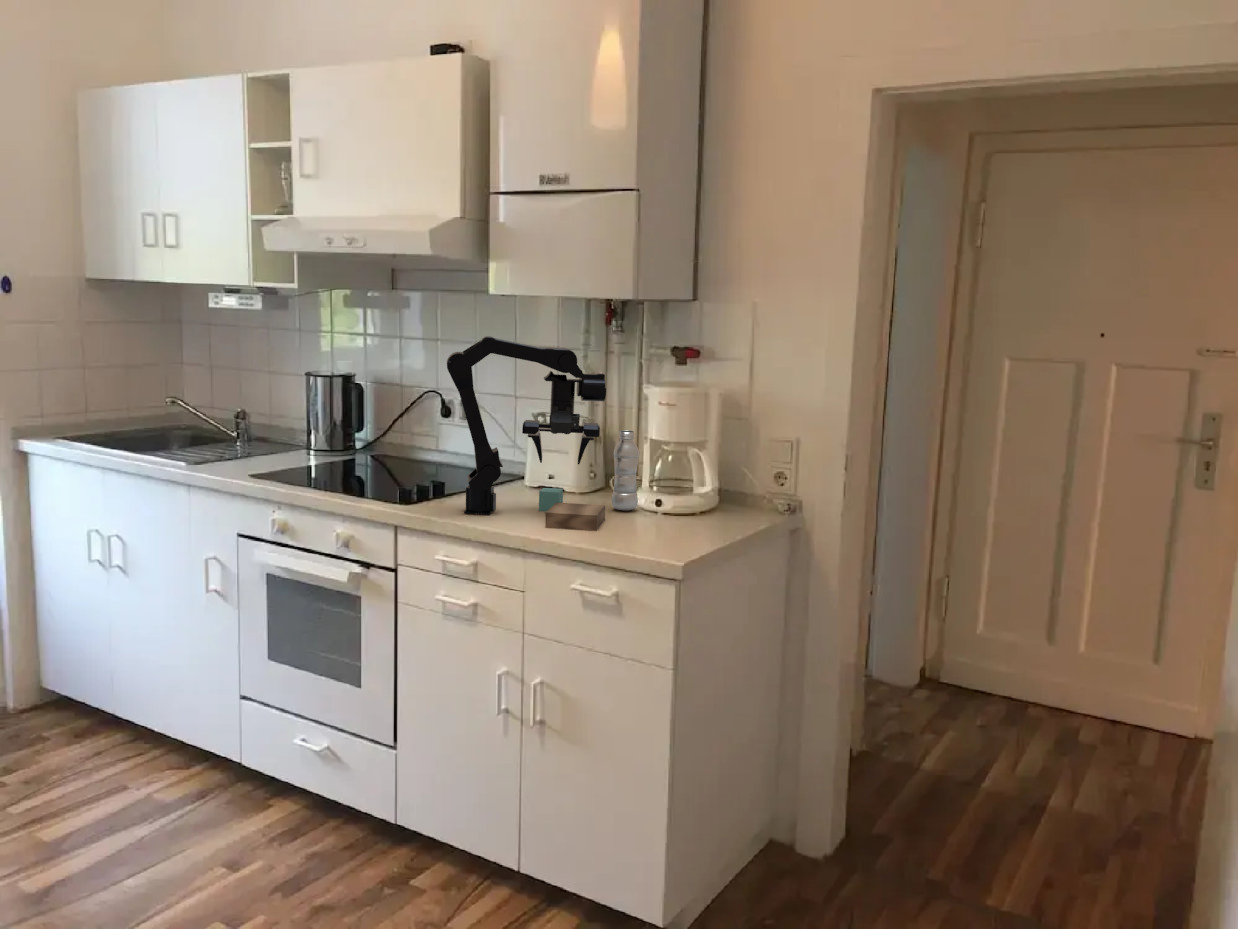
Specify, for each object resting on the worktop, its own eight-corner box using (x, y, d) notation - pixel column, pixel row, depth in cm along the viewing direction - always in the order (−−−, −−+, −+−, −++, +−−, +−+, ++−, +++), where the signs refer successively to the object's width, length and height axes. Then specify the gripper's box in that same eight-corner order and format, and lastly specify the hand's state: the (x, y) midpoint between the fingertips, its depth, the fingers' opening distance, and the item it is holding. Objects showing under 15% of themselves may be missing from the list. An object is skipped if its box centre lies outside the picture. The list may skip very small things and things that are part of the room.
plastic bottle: (622, 506, 267) (624, 428, 264) (643, 510, 263) (645, 431, 260) (605, 510, 262) (608, 431, 259) (626, 514, 258) (629, 433, 255)
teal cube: (538, 511, 259) (539, 491, 258) (543, 507, 264) (543, 487, 263) (558, 512, 258) (559, 492, 258) (562, 508, 263) (563, 488, 262)
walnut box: (545, 529, 241) (545, 512, 241) (555, 518, 253) (556, 502, 252) (596, 532, 240) (596, 515, 239) (604, 521, 251) (605, 505, 251)
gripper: (522, 401, 246) (519, 467, 249) (601, 405, 247) (598, 470, 249) (524, 397, 257) (522, 459, 260) (600, 400, 258) (597, 463, 260)
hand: (559, 463), depth 257 cm, fingers open, 9 cm apart
